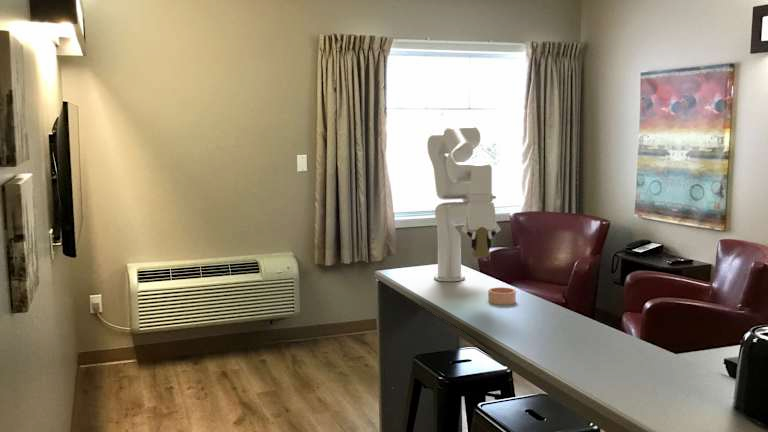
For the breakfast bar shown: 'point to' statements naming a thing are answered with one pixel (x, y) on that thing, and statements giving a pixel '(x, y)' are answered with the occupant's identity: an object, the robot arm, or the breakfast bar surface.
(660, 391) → the breakfast bar surface
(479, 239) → the cork
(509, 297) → the pink faceted round bowl
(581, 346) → the breakfast bar surface
